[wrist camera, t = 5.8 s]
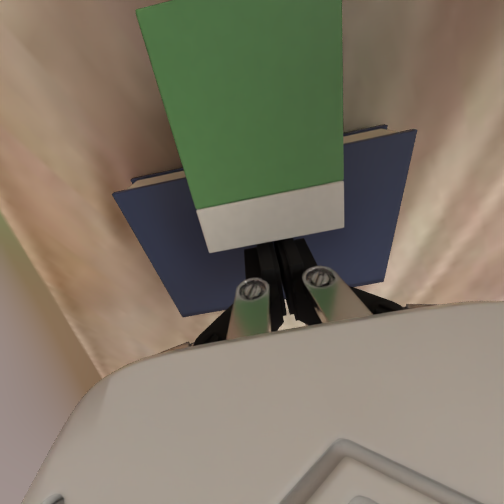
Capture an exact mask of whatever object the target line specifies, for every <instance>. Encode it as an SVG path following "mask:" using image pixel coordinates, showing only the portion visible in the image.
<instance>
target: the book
mask: <svg viewBox="0 0 504 504" xmlns="http://www.w3.org/2000/svg"><path fill="white" fill-rule="evenodd" d="M387 127H388V125H385V124H384V125H379V126H375V127H370V128H365V129H361V130H356V131H351V132H347V133H343V154H344V179H343V180H342V181H344V228H340V229H335V230H329V231H324V232H319V233H314V234H308V235H303V236H298V237H293V239H294V240H296V239H301V238H304V239H305V241H306V243H307V245H308V247H309V249H310V251H311V253H312V255H313V257H314V259H315V261H316V263H317V265H318V266H326V267H329V268H331V269H333V270H334V271H336V272H337V273H338V275H339V276H340V277H341V278H342V279H343V280H344V282H345V283H346V284H347V285H348V286H351V287H357V286H363V285H368V284H374V283H380V282H384V278H385V273H386V269H387V264H388V260H389V255H390V251H391V246H392V242H393V237H394V233H395V228H396V224H397V219H398V215H399V210H400V206H401V201H402V197H403V192H404V188H405V183H406V179H407V174H408V170H409V165H410V161H411V156H412V152H413V147H414V143H415V138H416V134H417V130H416V129H410V130H406V131H401V132H396V131H391V130H387ZM131 182H132V185H131V186H130V187H129V188H127V189H126V190H122V191H117V192H114V193H113V194H112V195H113V197H114V199H115V201H116V202H117V204H118V206H119V208H120V209H121V211H122V213H123V215H124V216H125V218H126V220H127V222H128V223H129V225H130V227H131V228H132V230H133V232H134V234H135V235H136V237H137V239H138V241H139V242H140V244H141V246H142V248H143V249H144V251H145V253H146V255H147V256H148V258H149V260H150V262H151V263H152V265H153V267H154V268H155V270H156V272H157V274H158V275H159V277H160V279H161V281H162V282H163V284H164V286H165V288H166V289H167V291H168V293H169V295H170V296H171V298H172V300H173V302H174V303H175V305H176V307H177V308H178V310H179V312H180V314H181V315H182V317H188V316H193V315H199V314H204V313H210V312H216V311H221V310H227V309H228V308H229V307H230V306H231V305H232V304H233V302H234V297H235V291H236V288H237V286H238V285H239V284H240V283H241V282H243V281H244V280H246V277H245V261H244V249H249V248H254V247H257V244H255V245H250V246H245V247H240V248H234V249H229V250H224V251H218V252H213V253H209V251H208V248H207V245H206V241H205V238H204V235H203V232H202V228H201V225H200V222H199V218H198V215H197V212H196V211H197V209H196V208H195V205H194V202H193V199H192V196H191V192H190V189H189V186H188V183H187V179H186V176H185V173H184V170H183V168H178V169H174V170H169V171H164V172H160V173H155V174H150V175H146V176H141V177H136V178H132V179H131ZM273 245H274V241H273ZM274 249H275V248H274ZM282 287H283V286H282ZM283 294H284V290H283ZM284 299H286V297H285V294H284Z"/></svg>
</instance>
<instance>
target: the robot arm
mask: <svg viewBox="0 0 504 504" xmlns="http://www.w3.org/2000/svg"><path fill="white" fill-rule="evenodd" d="M274 248H275V249H274ZM244 261H245V277H246V280H244V281H243V282H241V283H240V284H239V285H238V286H237V288H236V291H235V297H234V302H233V304H232V305H231V306H230V307H229V308H228V309H227V310H226V311H224V312H223V313H222V314H221V315H220V316H219V317H218V318H217V319H216V320H215V321H214V322H213V323H212V324H211V325H210V326H209V327H208V328H207V329H206V330H205V331H203V332H202V333H201V334H200V335H199V337H198V338H197V339H196V340H195V342H194V343H191V344H190V343H189V342H186V343H184V344H181V345H178V346H176V347H173V348H171V349H168V350H166V351H163V352H160V353H158V354H155V355H152V356H148V357H145V358H142V359H140V360H137V361H135V362H132V363H130V364H127V365H125V366H124V367H122V368H120V369H118V370H116V371H114V372H112V373H110V374H109V375H107V376H106V377H104V378H103V379H101V380H100V381H99V382H97V383H96V384H95V385H94V386H93V387H92V388H91V389H89V391H88V392H87V393H86V394H85V395H84V396H83V397H82V399H81V400H80V402H79V403H78V404H77V406H76V407H75V409H74V410H73V412H72V413H71V415H70V417H69V418H68V420H67V422H66V423H65V425H64V426H63V428H62V430H61V431H60V433H59V435H58V436H57V438H56V440H55V442H54V443H53V445H52V447H51V449H50V450H49V452H48V454H47V456H46V458H45V460H44V462H43V463H42V465H41V467H40V469H39V471H38V473H37V475H36V477H35V478H34V480H33V482H32V484H31V486H30V488H29V490H28V492H27V493H26V495H25V497H24V499H23V501H22V503H21V504H504V301H468V302H457V303H448V304H406V307H402V306H400V305H399V304H397V303H395V302H393V301H390V300H387V299H384V298H381V297H379V296H376V295H373V294H370V293H367V292H365V291H362V290H359V289H356V288H354V287H351V286H348V285H347V284H346V283H345V282H344V280H343V279H342V278H341V277H340V276H339V275H338V273H337V272H336V271H334V270H333V269H331V268H329V267H326V266H318V265H317V263H316V261H315V259H314V257H313V255H312V253H311V251H310V249H309V247H308V245H307V243H306V241H305V239H304V238H301V239H296V240H294V239H293V237H292V238H287V239H282V240H277V241H274V245H273V241H271V242H266V243H261V244H257V247H254V248H249V249H244ZM282 286H283V287H282ZM283 290H284V294H285V297H286V301H287V305H288V309H289V313H290V315H291V314H294V316H295V319H296V321H297V320H300V321H301V322H303V323H305V324H306V326H304V327H298V328H292V329H286V330H280V331H278V329H279V327H280V326H281V325H282V324H283V322H284V320H283V316H285V315H286V308H285V301H284V294H283Z"/></svg>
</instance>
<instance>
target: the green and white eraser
mask: <svg viewBox="0 0 504 504" xmlns="http://www.w3.org/2000/svg"><path fill="white" fill-rule="evenodd" d="M135 11H136V16H137V20H138V23H139V26H140V29H141V33H142V36H143V39H144V42H145V46H146V49H147V52H148V55H149V59H150V62H151V65H152V68H153V72H154V75H155V78H156V81H157V85H158V88H159V91H160V95H161V98H162V101H163V104H164V108H165V111H166V114H167V117H168V121H169V124H170V127H171V130H172V134H173V137H174V140H175V143H176V147H177V150H178V153H179V156H180V160H181V163H182V166H183V170H184V173H185V176H186V179H187V183H188V186H189V189H190V192H191V196H192V199H193V202H194V205H195V208H196V209H197V211H196V212H197V215H198V218H199V222H200V225H201V228H202V232H203V235H204V238H205V241H206V245H207V248H208V251H209V253H213V252H218V251H224V250H229V249H234V248H240V247H245V246H250V245H255V244H261V243H266V242H271V241H277V240H282V239H287V238H292V237H298V236H303V235H308V234H314V233H319V232H324V231H329V230H335V229H340V228H344V181H342V180H343V179H344V154H343V58H342V0H171V1H168V2H164V3H160V4H156V5H152V6H148V7H144V8H140V9H136V10H135Z"/></svg>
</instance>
